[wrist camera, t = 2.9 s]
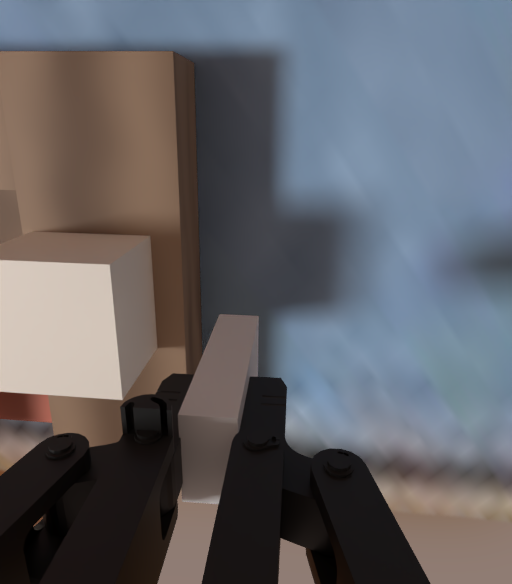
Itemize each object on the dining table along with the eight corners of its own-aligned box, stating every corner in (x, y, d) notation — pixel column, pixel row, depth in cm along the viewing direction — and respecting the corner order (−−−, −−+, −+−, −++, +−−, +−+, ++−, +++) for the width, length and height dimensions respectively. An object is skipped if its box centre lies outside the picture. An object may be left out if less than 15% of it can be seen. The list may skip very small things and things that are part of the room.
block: (150, 235, 23) (109, 264, 18) (157, 347, 25) (122, 400, 20) (32, 231, 23) (-38, 258, 19) (48, 341, 25) (-11, 390, 21)
